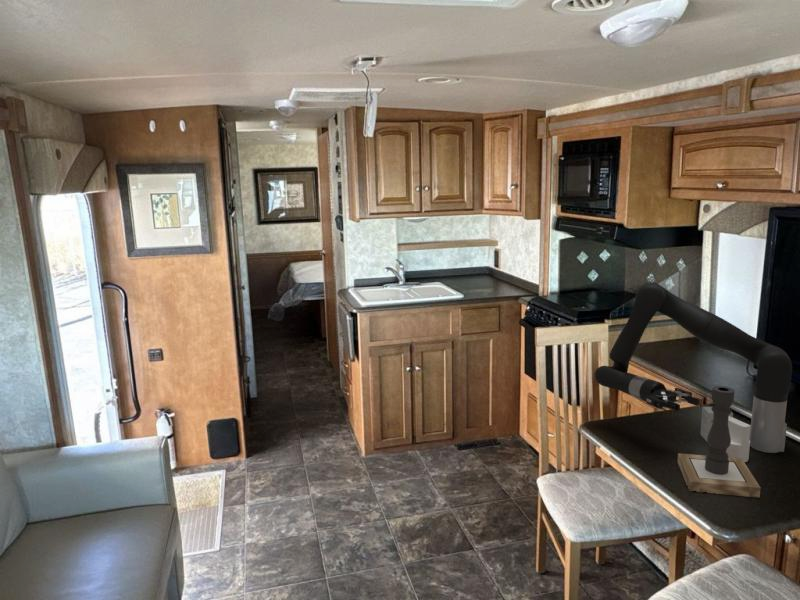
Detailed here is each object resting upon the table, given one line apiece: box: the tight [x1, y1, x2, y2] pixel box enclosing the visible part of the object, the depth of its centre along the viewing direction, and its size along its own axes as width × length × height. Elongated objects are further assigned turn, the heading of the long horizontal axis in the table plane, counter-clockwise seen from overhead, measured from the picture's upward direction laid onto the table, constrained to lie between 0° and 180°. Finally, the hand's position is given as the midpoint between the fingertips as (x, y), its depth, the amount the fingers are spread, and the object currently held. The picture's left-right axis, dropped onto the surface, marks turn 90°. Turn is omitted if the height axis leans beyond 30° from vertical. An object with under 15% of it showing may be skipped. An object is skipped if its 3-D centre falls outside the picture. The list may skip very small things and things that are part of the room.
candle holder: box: [705, 385, 735, 475], centre depth 177 cm, size 6×6×25 cm
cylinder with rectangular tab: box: [726, 416, 751, 464], centre depth 192 cm, size 9×9×12 cm
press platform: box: [690, 459, 745, 482], centre depth 179 cm, size 12×12×2 cm
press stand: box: [677, 452, 762, 499], centre depth 179 cm, size 18×18×3 cm
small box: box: [700, 406, 734, 443], centre depth 205 cm, size 8×6×10 cm
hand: (689, 405), depth 186 cm, fingers open, 8 cm apart
